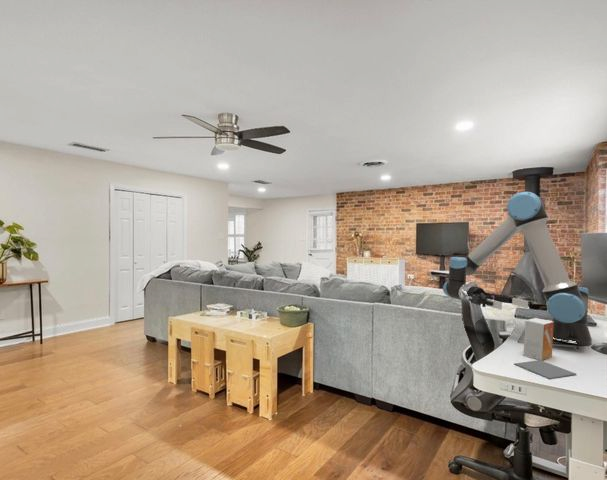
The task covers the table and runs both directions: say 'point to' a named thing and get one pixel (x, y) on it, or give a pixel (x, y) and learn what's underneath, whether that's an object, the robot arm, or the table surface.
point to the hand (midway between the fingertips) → (514, 305)
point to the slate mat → (545, 369)
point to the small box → (538, 338)
